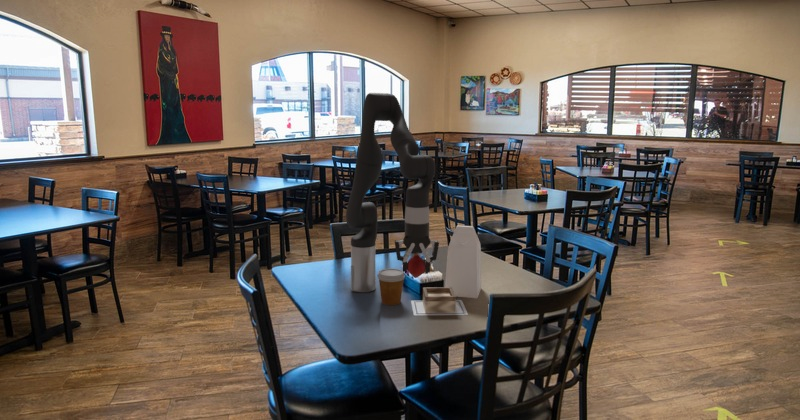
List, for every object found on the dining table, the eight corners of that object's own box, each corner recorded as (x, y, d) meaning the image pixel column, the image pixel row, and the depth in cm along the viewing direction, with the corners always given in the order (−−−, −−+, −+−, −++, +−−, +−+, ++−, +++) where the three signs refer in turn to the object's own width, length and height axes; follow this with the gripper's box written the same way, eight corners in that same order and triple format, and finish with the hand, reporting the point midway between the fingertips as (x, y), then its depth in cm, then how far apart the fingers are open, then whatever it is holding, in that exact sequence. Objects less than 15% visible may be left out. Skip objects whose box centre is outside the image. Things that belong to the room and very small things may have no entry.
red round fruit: (424, 274, 176) (425, 250, 174) (425, 280, 170) (426, 255, 169) (406, 274, 176) (406, 250, 174) (407, 280, 170) (407, 255, 168)
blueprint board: (413, 318, 181) (413, 315, 181) (410, 303, 195) (410, 300, 194) (468, 318, 182) (468, 314, 182) (461, 303, 195) (461, 299, 195)
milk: (481, 291, 208) (483, 224, 204) (477, 301, 197) (479, 230, 193) (449, 288, 211) (451, 222, 207) (444, 298, 201) (445, 228, 196)
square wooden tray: (425, 312, 183) (425, 297, 182) (422, 302, 193) (422, 287, 192) (455, 312, 183) (455, 296, 182) (451, 302, 193) (451, 287, 192)
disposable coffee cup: (389, 298, 200) (389, 266, 198) (410, 304, 194) (410, 271, 192) (371, 305, 193) (371, 272, 190) (392, 312, 187) (392, 278, 185)
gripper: (394, 222, 165) (393, 276, 169) (441, 223, 166) (440, 276, 169) (393, 217, 173) (392, 269, 176) (439, 217, 173) (437, 269, 177)
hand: (416, 272), depth 173 cm, fingers closed on red round fruit, 6 cm apart
